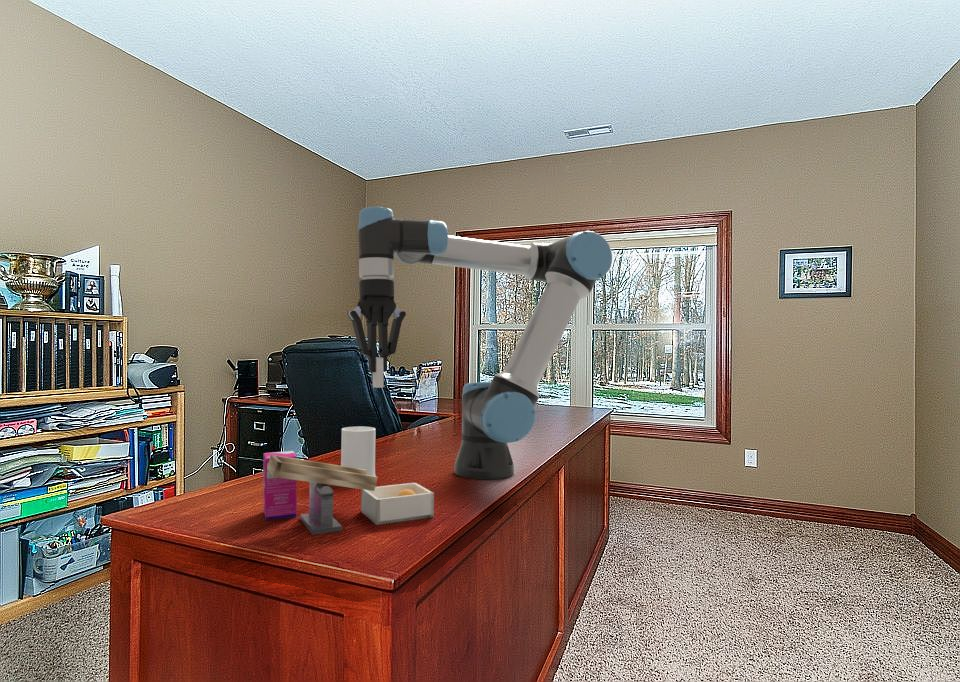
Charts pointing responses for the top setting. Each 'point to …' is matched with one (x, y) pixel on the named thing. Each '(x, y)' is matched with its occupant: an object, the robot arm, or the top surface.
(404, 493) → the ball
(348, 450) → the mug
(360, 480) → the seesaw
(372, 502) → the white storage bin
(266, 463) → the supplement box
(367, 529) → the top surface
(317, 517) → the fulcrum
